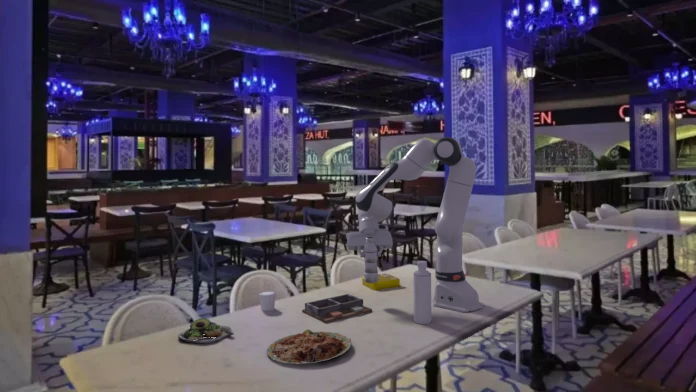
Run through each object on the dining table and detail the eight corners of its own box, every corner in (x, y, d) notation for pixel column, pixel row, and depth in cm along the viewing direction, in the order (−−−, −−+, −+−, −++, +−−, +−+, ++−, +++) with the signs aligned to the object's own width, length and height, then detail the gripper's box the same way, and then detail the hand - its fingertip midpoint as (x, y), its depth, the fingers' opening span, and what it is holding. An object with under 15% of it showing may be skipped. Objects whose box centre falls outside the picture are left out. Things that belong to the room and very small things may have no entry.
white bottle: (410, 320, 186) (410, 256, 184) (425, 317, 188) (425, 255, 187) (419, 325, 180) (418, 259, 178) (434, 322, 182) (434, 258, 180)
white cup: (279, 307, 206) (278, 291, 205) (269, 312, 199) (269, 295, 199) (265, 306, 208) (265, 290, 208) (256, 310, 202) (255, 294, 202)
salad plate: (246, 331, 178) (245, 319, 178) (216, 348, 162) (215, 335, 161) (204, 325, 185) (203, 313, 185) (171, 341, 169) (170, 329, 169)
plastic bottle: (369, 285, 203) (367, 239, 202) (361, 282, 209) (359, 237, 208) (381, 283, 206) (380, 237, 205) (373, 280, 212) (372, 235, 211)
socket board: (372, 311, 197) (372, 302, 197) (325, 323, 184) (325, 313, 184) (347, 301, 212) (346, 292, 212) (302, 311, 199) (302, 302, 199)
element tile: (361, 284, 243) (360, 275, 243) (386, 281, 250) (386, 272, 249) (374, 291, 230) (374, 281, 229) (401, 287, 236) (401, 278, 236)
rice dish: (250, 365, 150) (249, 348, 150) (291, 331, 176) (290, 317, 175) (332, 377, 140) (331, 359, 140) (363, 340, 166) (362, 325, 165)
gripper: (345, 227, 213) (346, 253, 204) (391, 225, 213) (394, 251, 204) (346, 235, 218) (346, 261, 209) (390, 234, 218) (393, 259, 209)
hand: (370, 256), depth 206 cm, fingers closed on plastic bottle, 6 cm apart
